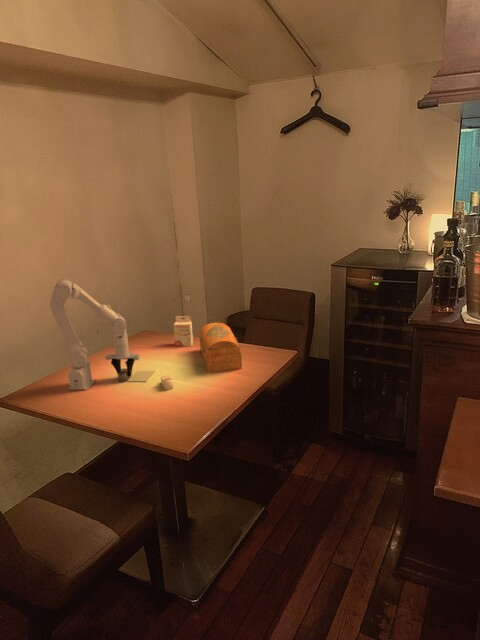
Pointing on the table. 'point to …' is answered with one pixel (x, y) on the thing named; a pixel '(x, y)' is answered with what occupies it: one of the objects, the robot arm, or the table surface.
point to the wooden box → (219, 348)
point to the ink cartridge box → (183, 331)
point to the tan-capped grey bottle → (123, 375)
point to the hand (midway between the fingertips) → (124, 375)
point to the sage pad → (141, 376)
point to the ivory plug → (166, 382)
